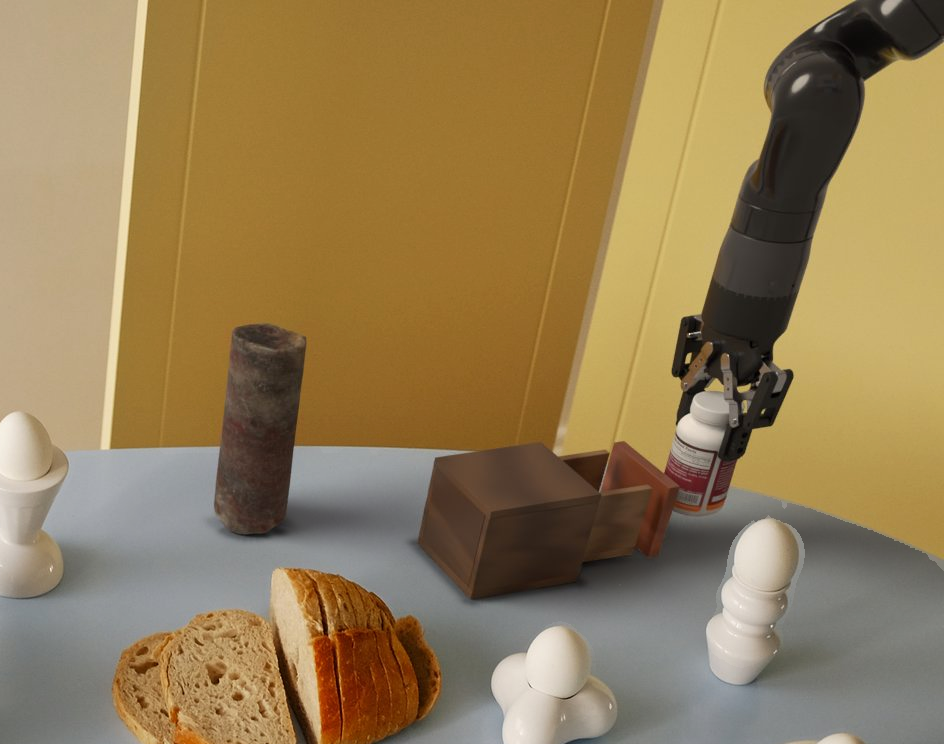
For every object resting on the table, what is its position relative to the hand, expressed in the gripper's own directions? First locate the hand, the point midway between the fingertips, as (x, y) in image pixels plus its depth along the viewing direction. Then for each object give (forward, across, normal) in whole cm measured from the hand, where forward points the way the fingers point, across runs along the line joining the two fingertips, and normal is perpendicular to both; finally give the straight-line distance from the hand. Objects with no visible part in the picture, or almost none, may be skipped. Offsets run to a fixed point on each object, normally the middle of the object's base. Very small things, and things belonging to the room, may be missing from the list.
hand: (707, 442), depth 170 cm
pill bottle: (+7, 0, 0) cm, 7 cm away
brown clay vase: (+10, +15, +40) cm, 44 cm away
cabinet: (+10, 0, +20) cm, 23 cm away
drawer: (+9, +1, +10) cm, 14 cm away
